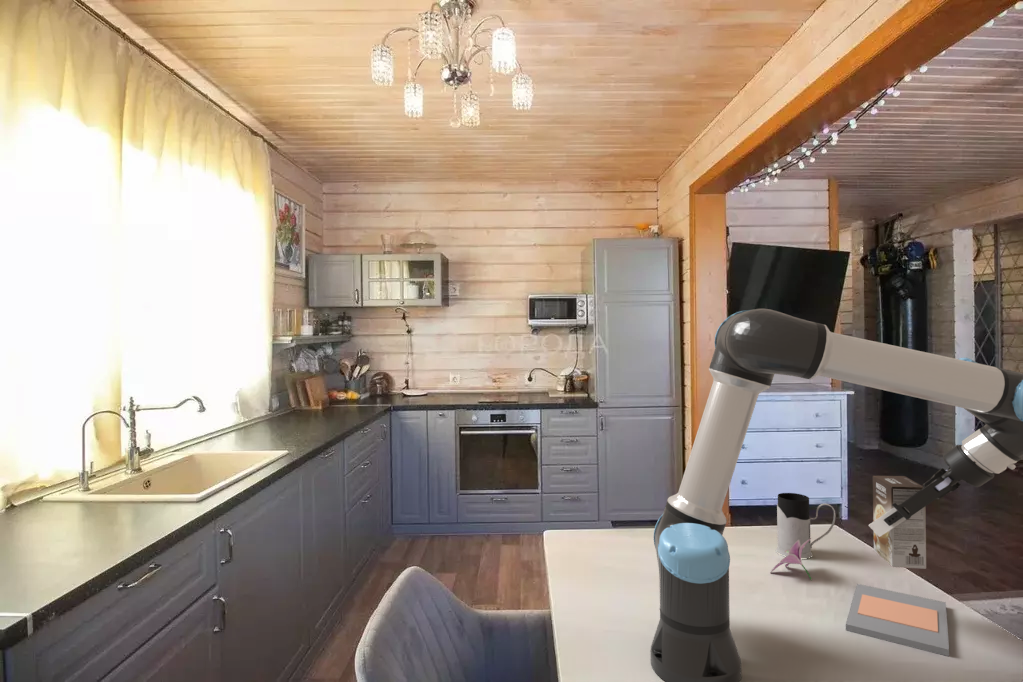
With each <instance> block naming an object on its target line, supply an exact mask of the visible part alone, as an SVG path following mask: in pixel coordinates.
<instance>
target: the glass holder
mask: <svg viewBox="0 0 1023 682" xmlns="http://www.w3.org/2000/svg"><path fill="white" fill-rule="evenodd" d="M823 506H828V507H830V508H831V509H832V511H833V520H832V523H831V525H830V527H829V529H828V530H827V531H826V532H825V533H823V534H821V536H819V537H818V538H816V539H814V540H813V541H812V542H811V539H810V538H811V521H812V520H813V521H814V520H816V519H817V518H818V516H819V515H818V514H819V510H820V508H821V507H823ZM776 509H777V510H776V513H777V514H776V515H777V516H776V520H777V521H776V524H777V533H776V534H777V546H776V549H775V552H776V551H777V552H778V553H780V554H782V555H785V556H787V555H789V554H788V553H789V551H788V550H790V548H791V547H792V545H793V544H794V543H795V542H796V541H797V540H799V541H800V545H802V544H803V543H804V542H806V541H807V540H809V539H810V540H809V541H808V542H807V543H806V544H805V547H804V548H803V549H802V552H801V558H809V557H811V556H812V555H813V553H812V551H811V550H812V548H813V545H814V544H816V542H819V541H820V540H821V539H823V538H824V537H825V536H827V535H828V534H829V533H831V531H832V529H833V528H834V526H835V522H836V510H835V508H834V506H832V504H828V503H821V504H819V505H818V506H817V508H816V509H815V517H811V516H810V497H809V496H807V495H804V494H801V493H795V492H781V493H778V494H777V504H776ZM786 550H787V551H788V553H787V551H786ZM777 552H776V553H777ZM778 553H777V554H778ZM812 557H813V556H812Z"/></svg>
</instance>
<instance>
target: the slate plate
mask: <svg viewBox="0 0 1023 682" xmlns="http://www.w3.org/2000/svg"><path fill="white" fill-rule="evenodd" d="M850 603H851V604H850V607H849V611H848V614H847V619H846V622H845V631H848V632H851V633H856V634H860V635H863V636H866V637H871V638H876V639H879V640H882V641H883V640H884V641H888V642H892V643H895V644H899V645H903V646H907V647H910V648H914V649H918V650H922V651H926V652H931V653H935V654H938V655H943V656H947V657H950V644H949V633H948V632H949V630H948V614H947V602H946V601H942V600H936V599H932V598H928V597H922V596H918V595H913V594H908V593H904V592H899V591H893V590H890V589H884V588H880V587H874V586H871V585H867V584H861V583H856V585H855V589H854V593H853V596H852V600H851V602H850Z"/></svg>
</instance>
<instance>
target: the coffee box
mask: <svg viewBox="0 0 1023 682" xmlns="http://www.w3.org/2000/svg"><path fill="white" fill-rule="evenodd" d="M922 488H923V485H921V484H920V483H919V482H916V481H914V480H912V479H910V478H909V477H907V476H905V475H872V509H873V511H872V512H873V513H872V514H873V517H872V520H873V521H875V520H876V519H878V518H879V517H881V516H882V515H884V514H885V513H887V512H888V511H890V510H891V509H892V508H894V507H893V506H892V504H894V503H896V504H897V505H900V504H902V503H903V502H904V501H906V500H907V499H909V498H910V497H911V496H913V495H914V494H915V493H917V492H918V491H920V490H921V489H922ZM904 508H905V507H904ZM905 509H906V508H905ZM906 510H907V509H906ZM907 511H908V510H907ZM908 512H909V511H908ZM909 513H910V512H909ZM926 513H927V512H926V506H925V507H924V508H922V509H921V510H919V511H918V512H917V513H915V514H914V515H912V516H911V518H909V519H906V520H904V521H903V522H901V523H900V524H898V525H897V526H895V527H894V528H892V529H891V530H889V531H888V532H886V533H885V534H883V535H882V536H880V537H879V536H878V535H877V534H876V533H875V532H874V531H873V551H874V552H875V553H877V554H878V555H879V557H881V558H882V559H883V560H884V561H885V562H887V563H888V565H890V566H891V567H892V568H902V569H903V568H904V569H905V568H906V569H907V568H908V569H922V570H923V569H927V532H926V531H927V530H926V529H927V528H926V527H927V526H926V525H927V524H926V523H927V519H926V518H927V517H926V516H927V515H926ZM873 521H872V522H873Z"/></svg>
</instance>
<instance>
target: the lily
mask: <svg viewBox="0 0 1023 682" xmlns="http://www.w3.org/2000/svg"><path fill="white" fill-rule="evenodd" d="M809 540H810V541H811V540H812V537H810V539H809ZM809 540H807V541H806V542H804V543H803V544H802V545H800V541H799V540H797V541H796V542H795V543H794V544H793V545H792V547H791V548H790V550H788V551H789V553H788V551H787V550H786V551H787V553H788V554H789V555H787V556H786V557H783V558H782V559H781V560H780V561H779V562H778V563H777V564H776V565H775V566H774V567H773V568H772V569H771V571H770V572H769V574H771V573H773V572H774V571H775V570H776V569H777V568H778V567H780V566H782V565H784V567H785V568H788V567H789V565H801V567H802V568H803V570H804V571H805V572H806V574H807V575H808V578H809V579H810V580H811V579H812V576H811V575H810V573H809V572H808V570H807V568H806V567H805V566H804V564H803V563H802V560H801V552H802V549H803V548H804V547H805V544H806V543H807V542H808V541H809Z"/></svg>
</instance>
